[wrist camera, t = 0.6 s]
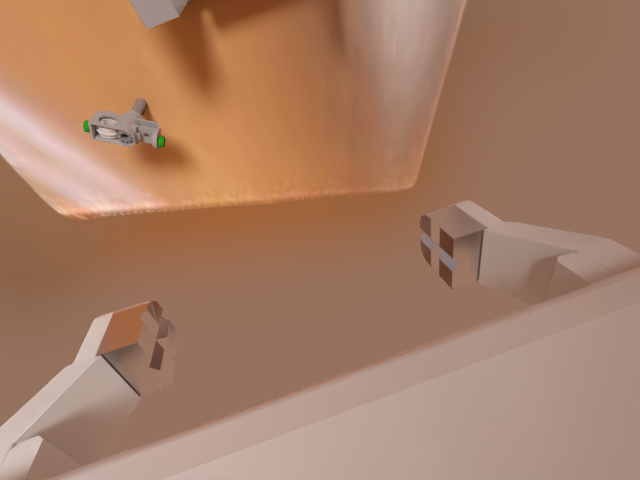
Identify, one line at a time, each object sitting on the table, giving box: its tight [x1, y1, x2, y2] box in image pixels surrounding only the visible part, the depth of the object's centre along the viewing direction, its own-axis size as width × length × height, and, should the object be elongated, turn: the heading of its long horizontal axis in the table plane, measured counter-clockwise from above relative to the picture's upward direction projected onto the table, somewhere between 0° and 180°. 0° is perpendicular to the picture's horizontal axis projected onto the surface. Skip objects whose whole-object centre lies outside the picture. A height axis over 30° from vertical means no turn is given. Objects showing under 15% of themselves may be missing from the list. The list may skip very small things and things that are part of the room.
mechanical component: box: [83, 99, 165, 149], centre depth 50 cm, size 3×10×10 cm, turn 72°
